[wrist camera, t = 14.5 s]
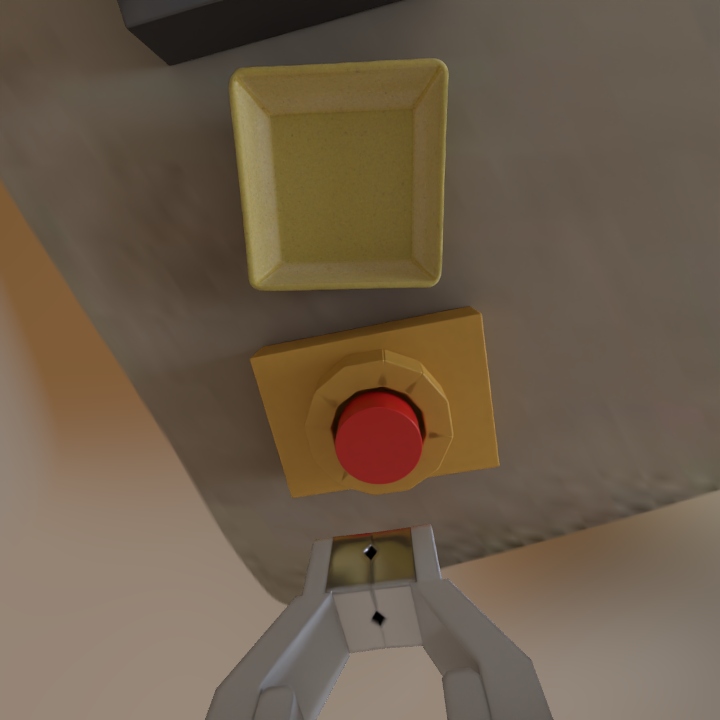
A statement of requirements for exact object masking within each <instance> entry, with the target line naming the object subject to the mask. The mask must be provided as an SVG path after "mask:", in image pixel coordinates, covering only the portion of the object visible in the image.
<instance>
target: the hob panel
mask: <svg viewBox="0 0 720 720" xmlns="http://www.w3.org/2000/svg"><path fill="white" fill-rule="evenodd" d="M117 1H118V4H119V8H120V11H121V14H122V17H123V20H124V23H125V26H126V28H127V29H128V30H129V31H130V32H131V33H132V34H134V35H135V36H136V37H137V38H138V39H139V40H140V41H142V42H143V43H144V44H145V45H146V46H147V47H148V48H150V49H151V50H152V51H153V52H154V53H155V54H156V55H158V56H159V57H160V58H161V59H162V60H163V61H164V62H166V63H167V64H168V65H170V66H171V65H174V64H178V63H181V62H185V61H188V60H192V59H195V58H199V57H203V56H206V55H210V54H213V53H217V52H220V51H224V50H227V49H231V48H234V47H238V46H241V45H245V44H249V43H252V42H256V41H259V40H263V39H266V38H270V37H273V36H277V35H280V34H284V33H287V32H291V31H294V30H298V29H302V28H305V27H309V26H312V25H316V24H319V23H323V22H326V21H330V20H333V19H337V18H340V17H344V16H348V15H351V14H355V13H358V12H362V11H365V10H369V9H372V8H376V7H379V6H383V5H386V4H390V3H393V2H397V1H401V0H117Z"/></svg>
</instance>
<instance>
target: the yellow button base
mask: <svg viewBox="0 0 720 720" xmlns="http://www.w3.org/2000/svg"><path fill="white" fill-rule="evenodd" d="M250 362H251V365H252V368H253V371H254V375H255V378H256V381H257V385H258V388H259V391H260V394H261V398H262V401H263V404H264V408H265V411H266V414H267V417H268V421H269V424H270V427H271V431H272V434H273V437H274V440H275V444H276V447H277V450H278V454H279V457H280V460H281V463H282V467H283V470H284V473H285V477H286V480H287V483H288V486H289V490H290V493H291V496H292V498H295V497H302V496H308V495H315V494H321V493H328V492H335V491H341V490H348V489H355V490H358V491H361V492H365V493H368V494H371V495H379V494H385V493H392V492H399V491H405V490H409V489H411V488H413V487H414V486H415V485H417V484H418V483H420V482H421V481H422V480H424V479H425V478H427V477H433V476H439V475H446V474H452V473H459V472H466V471H472V470H479V469H485V468H492V467H498V466H499V458H498V449H497V441H496V432H495V423H494V415H493V406H492V398H491V389H490V381H489V372H488V364H487V355H486V347H485V338H484V330H483V321H482V314H481V313H480V312H478V311H476V310H475V309H473V308H472V307H470V306H468V307H463V308H458V309H453V310H448V311H442V312H437V313H432V314H427V315H422V316H417V317H412V318H407V319H402V320H397V321H392V322H386V323H381V324H376V325H371V326H366V327H361V328H356V329H351V330H346V331H341V332H336V333H330V334H325V335H320V336H315V337H310V338H305V339H300V340H295V341H290V342H285V343H280V344H274V345H269V346H264V347H262V348H261V349H260V350H259V351H258V352H257V353H255V354H254V355H253V356H252V357H251V358H250ZM373 391H383V392H389V393H392V394H395V395H397V396H399V397H401V398H402V399H404V400H405V401H406V402H407V403H408V404H409V405H410V406H411V407H412V409H413V410H414V412H415V414H416V417H417V421H418V425H419V429H420V433H421V437H422V444H423V445H422V454H421V457H420V460H419V462H418V464H417V465H416V467H415V468H414V469H413V470H412V471H411V473H409V474H408V475H407V476H406V477H404V478H402V479H400V480H398V481H396V482H393V483H389V484H369V483H365V482H363V481H360V480H358V479H356V478H354V477H353V476H351V475H350V474H349V473H348V472H347V471H346V470H345V469H344V468H343V467H342V465H341V464H340V462H339V460H338V458H337V455H336V451H335V439H336V434H337V429H338V425H339V420H340V416H341V414H342V412H343V410H344V408H345V407H346V406H347V405H348V403H349V402H351V401H352V400H353V399H354V398H356V397H358V396H359V395H362V394H364V393H368V392H373Z"/></svg>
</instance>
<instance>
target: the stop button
mask: <svg viewBox="0 0 720 720" xmlns="http://www.w3.org/2000/svg"><path fill="white" fill-rule="evenodd" d="M422 445H423V444H422V437H421V433H420V429H419V425H418V421H417V417H416V414H415V412H414V410H413V409H412V407H411V406H410V405H409V404H408V403H407V402H406V401H405V400H404V399H402V398H401V397H399V396H397V395H395V394H392V393H389V392H383V391H373V392H368V393H364V394H362V395H359V396H358V397H356V398H354V399H353V400H352V401H351V402H349V403H348V405H347V406H346V407H345V408H344V410H343V412H342V414H341V416H340V420H339V425H338V429H337V434H336V439H335V451H336V455H337V458H338V460H339V462H340V464H341V465H342V467H343V468H344V469H345V470H346V471H347V472H348V473H349V474H350V475H351V476H353V477H354V478H356V479H358V480H360V481H363V482H365V483H369V484H389V483H393V482H396V481H398V480H400V479H402V478H404V477H406V476H407V475H408V474H409V473H411V471H412V470H413V469H414V468H415V467H416V465H417V464H418V462H419V460H420V457H421V454H422Z"/></svg>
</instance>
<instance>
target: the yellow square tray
mask: <svg viewBox="0 0 720 720" xmlns="http://www.w3.org/2000/svg"><path fill="white" fill-rule="evenodd" d="M448 78H449V72H448V69H447V67H446V65H445V63H444V62H442V61H441V60H439V59H436V58H424V59H406V60H381V61H368V62H351V63H348V62H344V63H335V64H313V65H294V66H282V65H280V66H271V67H265V66H260V67H245V68H238V69H237V70H236V71H235V72H234V73H233V74H232V76H231V78H230V82H229V98H230V107H231V116H232V124H233V132H234V142H235V150H236V160H237V169H238V179H239V188H240V194H241V207H242V214H243V228H244V236H245V245H246V255H247V266H248V278H249V282H250V284H251V285H252V286H253V287H254V288H255V289H257V290H261V291H290V290H330V289H373V288H414V287H416V288H420V287H424V288H425V287H432V286H434V285H435V284H437V283H438V281H439V280H440V277H441V271H442V249H443V214H444V177H445V153H446V124H447V101H448Z"/></svg>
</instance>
